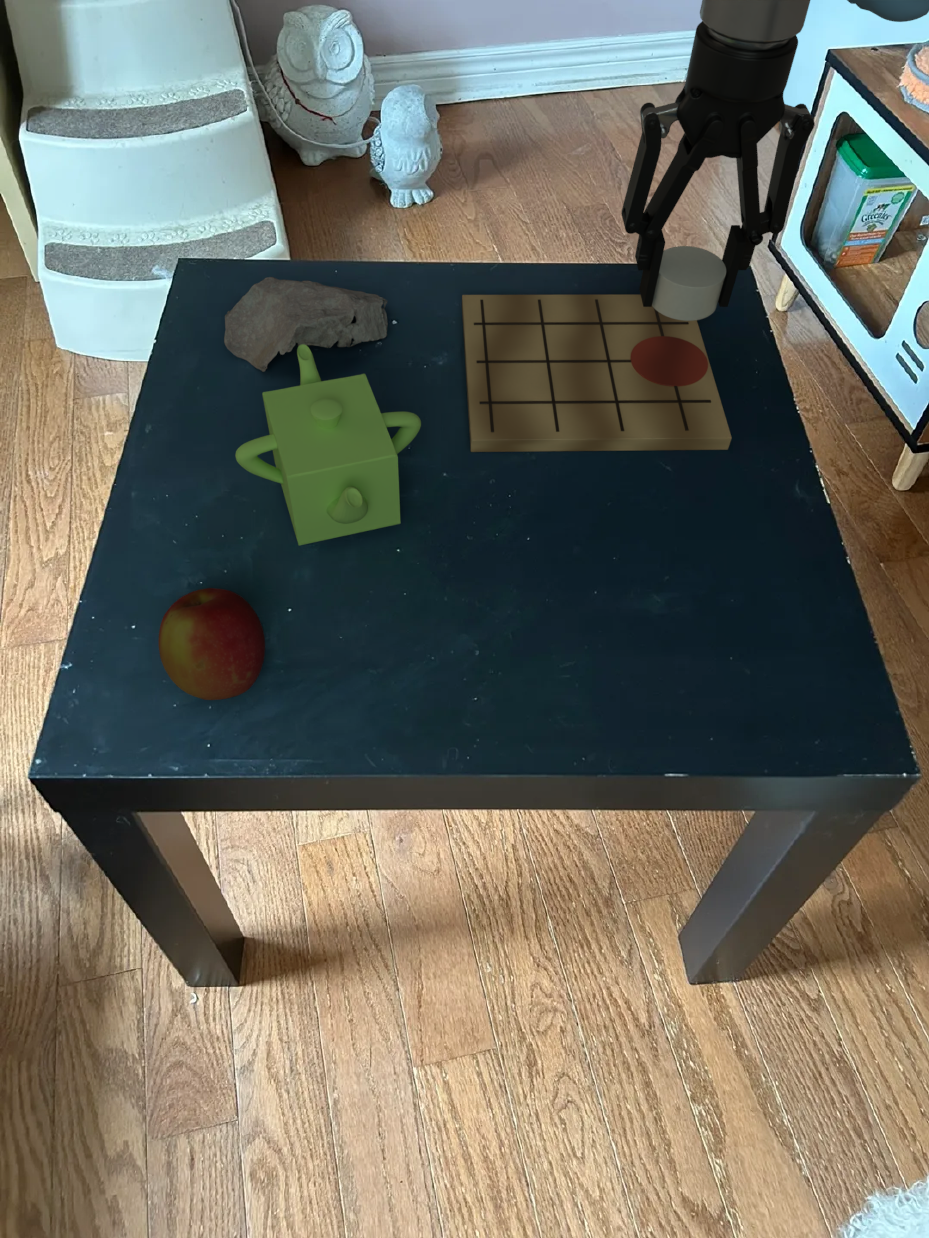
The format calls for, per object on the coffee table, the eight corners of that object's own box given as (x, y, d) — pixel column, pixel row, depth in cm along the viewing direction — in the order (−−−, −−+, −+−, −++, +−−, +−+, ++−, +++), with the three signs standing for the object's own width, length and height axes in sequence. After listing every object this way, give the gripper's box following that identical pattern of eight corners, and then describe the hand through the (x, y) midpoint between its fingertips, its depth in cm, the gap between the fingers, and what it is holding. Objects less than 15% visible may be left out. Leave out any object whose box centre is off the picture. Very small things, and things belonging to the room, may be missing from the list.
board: (686, 306, 103) (689, 293, 102) (727, 450, 90) (732, 436, 89) (461, 307, 102) (462, 293, 101) (470, 452, 89) (471, 439, 87)
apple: (286, 640, 76) (272, 575, 69) (253, 727, 71) (235, 667, 64) (193, 624, 76) (171, 558, 70) (154, 710, 72) (127, 648, 65)
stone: (334, 426, 95) (392, 345, 104) (356, 363, 88) (416, 283, 98) (195, 351, 94) (266, 276, 103) (207, 281, 87) (281, 208, 97)
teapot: (311, 425, 90) (299, 330, 82) (442, 468, 87) (443, 374, 79) (224, 536, 82) (200, 443, 73) (365, 587, 79) (357, 496, 70)
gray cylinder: (709, 279, 92) (718, 246, 89) (723, 321, 88) (733, 287, 85) (643, 279, 91) (650, 245, 88) (653, 321, 88) (661, 287, 85)
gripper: (863, 7, 73) (776, 274, 92) (611, 4, 73) (575, 274, 91) (893, 52, 69) (795, 323, 88) (625, 49, 68) (584, 323, 87)
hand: (683, 297), depth 89 cm, fingers closed on gray cylinder, 6 cm apart
